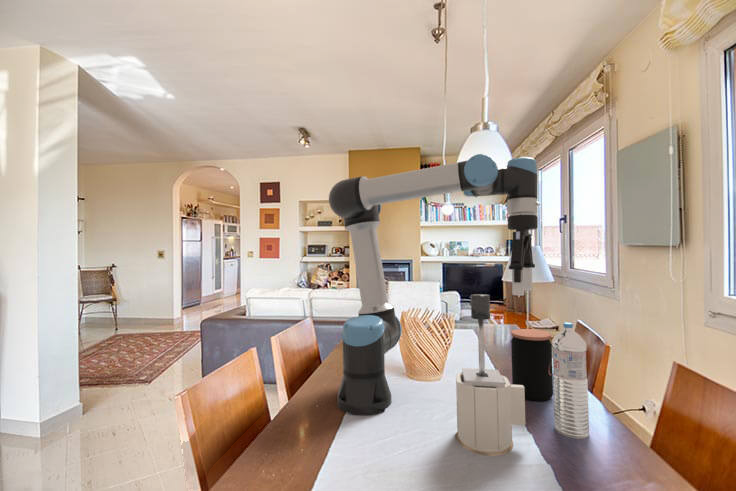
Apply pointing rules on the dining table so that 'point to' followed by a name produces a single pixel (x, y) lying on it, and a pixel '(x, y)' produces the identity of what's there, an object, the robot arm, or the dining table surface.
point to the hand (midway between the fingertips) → (522, 292)
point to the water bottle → (570, 384)
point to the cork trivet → (483, 453)
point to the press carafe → (488, 410)
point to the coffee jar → (532, 363)
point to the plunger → (481, 325)
